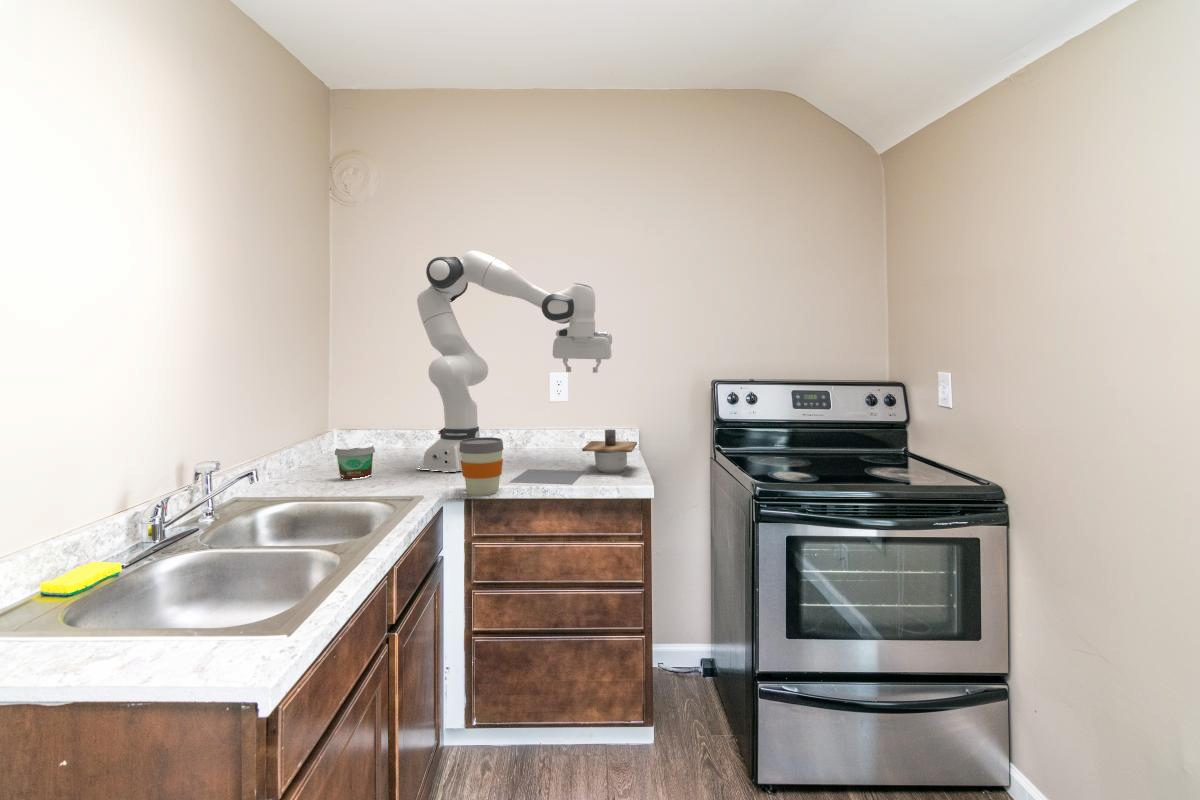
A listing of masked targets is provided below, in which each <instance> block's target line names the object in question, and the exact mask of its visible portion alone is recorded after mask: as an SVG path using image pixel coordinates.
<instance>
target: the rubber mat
mask: <svg viewBox="0 0 1200 800" xmlns="http://www.w3.org/2000/svg"><path fill="white" fill-rule="evenodd" d="M586 471H587V470H572V469H571V470H568V469H566V470H565V469H563V470H562V469H535V468H534V469H533V468H530V469H529V468H528V469H526V470H525V471H524V472H522V473H520V474H518V475H517V476H515V478H513V479H512V480H510V481H508V483H509V484H510V483H514V484H518V483H519V484H538V485H539V484H543V485H546V484H547V485H571V486H572V485H573V484H574V483H576V481H577V480H578V479H580V478H581V477H582V476H583V475H584V474H585V473H586Z"/></svg>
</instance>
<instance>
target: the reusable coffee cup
mask: <svg viewBox="0 0 1200 800" xmlns="http://www.w3.org/2000/svg"><path fill="white" fill-rule="evenodd" d="M503 450H504V442H503V439H502V438H499V437H489V436H488V437H487V436H486V437H484V436H483V437H481V436H480V437H479V438H470V439H464V440H461V441H460V448H459V452H461V458H462V460H461V467H462V471H461V472H462V473H461V474H462V477H464V483H465V488H466V493H467V494H468V495H470V496H479V497H480V496H490V495H495V494H496V493H497V492H498V491H499V488H500V487H499V486H500V480H501V479H500V477H501V475H502V473H503V463H504V462H503V461H504V459H503Z"/></svg>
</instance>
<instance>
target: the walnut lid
mask: <svg viewBox="0 0 1200 800" xmlns="http://www.w3.org/2000/svg"><path fill="white" fill-rule="evenodd" d="M616 433H617V432H616V429H604V440H603V441H602V440H600V441H599V440H590V441H589V442H588V443H587V444H585V446H583V448H582V449H581V451H582V452H594V451H595V452H627V453H632V452H633V451H634V449H635V448H636V446H637V445H638V441H617V440H616V439H617V437H616ZM595 452H594V453H595Z"/></svg>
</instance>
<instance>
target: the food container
mask: <svg viewBox="0 0 1200 800" xmlns="http://www.w3.org/2000/svg"><path fill="white" fill-rule="evenodd" d="M375 452H376V449H375V447H374V445H371V446H368V447H364V448H362V447H361V448H360V447H358V448H357V447H355V448H349V449H343V448H342V449H340V448H337V447H336V448H335V450H334V455H335V456H336V459H337V465H338V469H339V470H338V471H339V477H340V479H341V478H343V479H352V478H360V477H365V476H368V475H371V474H373V460H374V459H373V458H374V453H375ZM371 476H372V475H371ZM343 479H342V480H343Z"/></svg>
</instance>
